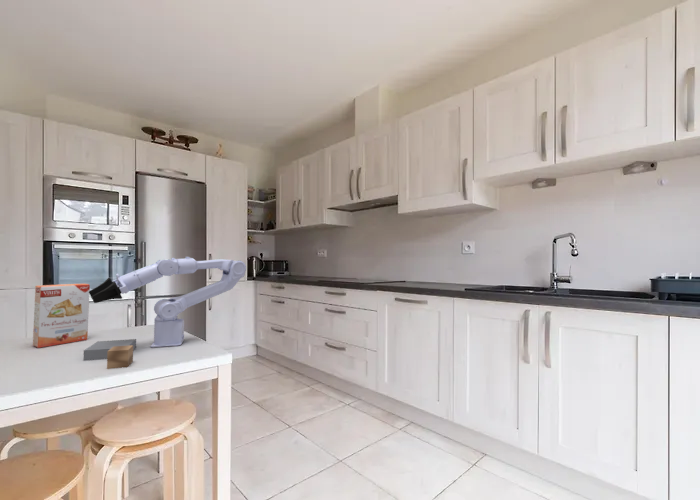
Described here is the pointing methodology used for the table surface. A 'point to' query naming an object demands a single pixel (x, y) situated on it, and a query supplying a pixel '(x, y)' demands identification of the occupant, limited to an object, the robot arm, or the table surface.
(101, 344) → the gray block
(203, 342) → the table surface
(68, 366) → the table surface
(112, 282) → the robot arm
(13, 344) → the table surface
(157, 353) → the table surface
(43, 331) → the cracker box
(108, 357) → the walnut cube
